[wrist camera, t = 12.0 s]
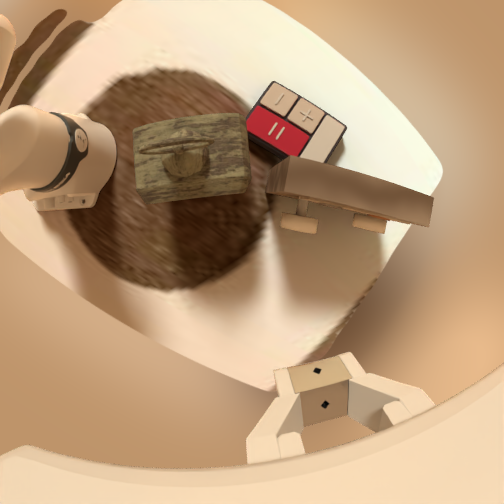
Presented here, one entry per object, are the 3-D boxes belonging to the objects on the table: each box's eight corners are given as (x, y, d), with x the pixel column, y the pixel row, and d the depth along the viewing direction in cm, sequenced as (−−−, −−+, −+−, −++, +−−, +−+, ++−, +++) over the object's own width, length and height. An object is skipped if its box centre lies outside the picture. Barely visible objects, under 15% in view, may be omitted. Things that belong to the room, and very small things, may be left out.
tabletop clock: (243, 140, 45) (254, 85, 20) (248, 192, 47) (264, 190, 22) (160, 151, 44) (93, 114, 20) (164, 202, 46) (97, 211, 21)
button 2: (374, 230, 43) (390, 235, 38) (347, 224, 42) (361, 228, 37) (381, 190, 41) (398, 191, 36) (354, 182, 41) (369, 182, 36)
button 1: (310, 230, 42) (320, 235, 37) (277, 224, 41) (283, 228, 36) (318, 187, 41) (329, 186, 36) (285, 180, 40) (292, 178, 35)
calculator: (273, 77, 40) (349, 125, 41) (271, 87, 44) (341, 131, 45) (237, 127, 41) (318, 177, 43) (238, 134, 45) (312, 179, 47)
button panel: (369, 217, 49) (427, 230, 31) (264, 195, 47) (283, 195, 29) (373, 194, 48) (433, 197, 30) (269, 169, 46) (290, 155, 28)
